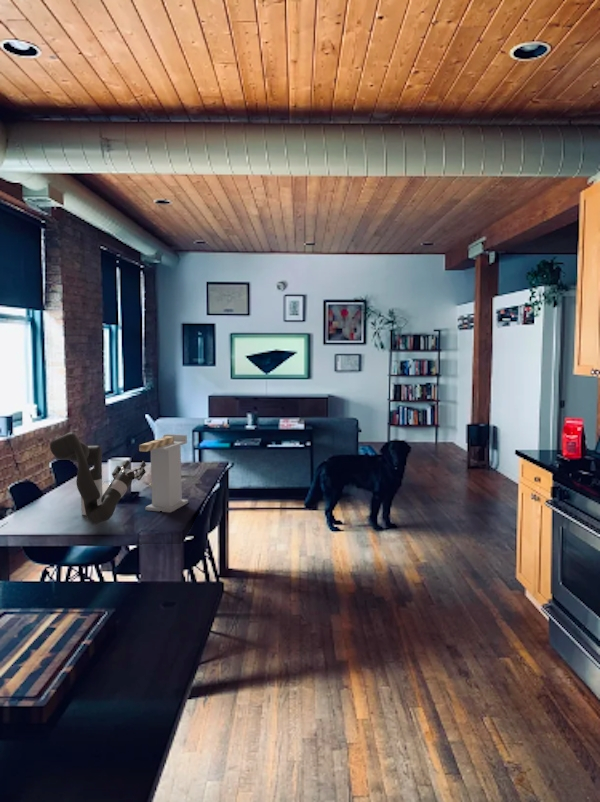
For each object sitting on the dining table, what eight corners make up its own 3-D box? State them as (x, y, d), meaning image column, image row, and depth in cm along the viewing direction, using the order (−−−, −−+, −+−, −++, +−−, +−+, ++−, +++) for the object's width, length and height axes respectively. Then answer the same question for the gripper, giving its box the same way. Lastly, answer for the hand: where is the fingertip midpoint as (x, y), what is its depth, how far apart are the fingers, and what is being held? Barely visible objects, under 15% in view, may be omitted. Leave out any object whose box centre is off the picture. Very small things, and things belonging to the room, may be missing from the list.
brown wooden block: (146, 451, 283) (145, 445, 282) (139, 451, 284) (139, 444, 283) (173, 442, 307) (173, 436, 307) (167, 442, 308) (167, 436, 308)
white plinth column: (168, 513, 294) (166, 442, 290) (143, 511, 298) (141, 440, 294) (190, 501, 315) (188, 435, 311) (166, 499, 319) (164, 433, 315)
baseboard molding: (86, 499, 322) (110, 498, 323) (86, 494, 322) (110, 493, 323) (99, 485, 353) (120, 484, 354) (99, 480, 352) (120, 480, 354)
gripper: (130, 481, 261) (147, 456, 274) (102, 479, 266) (120, 454, 278) (135, 493, 266) (152, 469, 278) (107, 491, 270) (125, 467, 282)
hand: (136, 462), depth 278 cm, fingers open, 8 cm apart
